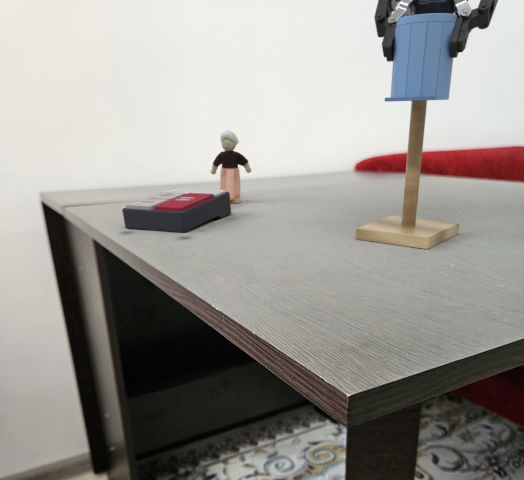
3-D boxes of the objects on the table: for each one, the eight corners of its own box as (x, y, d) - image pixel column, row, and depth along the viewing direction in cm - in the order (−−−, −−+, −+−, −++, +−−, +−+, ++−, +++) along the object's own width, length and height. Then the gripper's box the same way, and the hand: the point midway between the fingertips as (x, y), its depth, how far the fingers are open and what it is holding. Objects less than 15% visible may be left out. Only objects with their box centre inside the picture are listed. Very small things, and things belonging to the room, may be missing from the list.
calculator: (119, 203, 79) (174, 185, 91) (124, 232, 81) (177, 210, 93) (181, 207, 74) (230, 186, 86) (185, 236, 76) (232, 213, 88)
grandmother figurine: (211, 204, 98) (206, 131, 92) (213, 201, 101) (208, 130, 96) (252, 203, 98) (249, 130, 92) (252, 200, 101) (250, 129, 96)
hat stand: (390, 225, 76) (400, 88, 69) (458, 234, 70) (477, 84, 63) (355, 239, 69) (362, 88, 62) (427, 249, 63) (444, 83, 56)
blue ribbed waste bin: (398, 101, 67) (404, 23, 63) (452, 99, 64) (461, 18, 61) (378, 101, 60) (383, 14, 56) (437, 99, 57) (447, 7, 53)
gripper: (389, -73, 64) (353, 29, 59) (517, -95, 58) (488, 17, 53) (396, -14, 70) (365, 83, 66) (513, -28, 64) (486, 77, 60)
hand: (420, 53), depth 60 cm, fingers closed on blue ribbed waste bin, 6 cm apart
